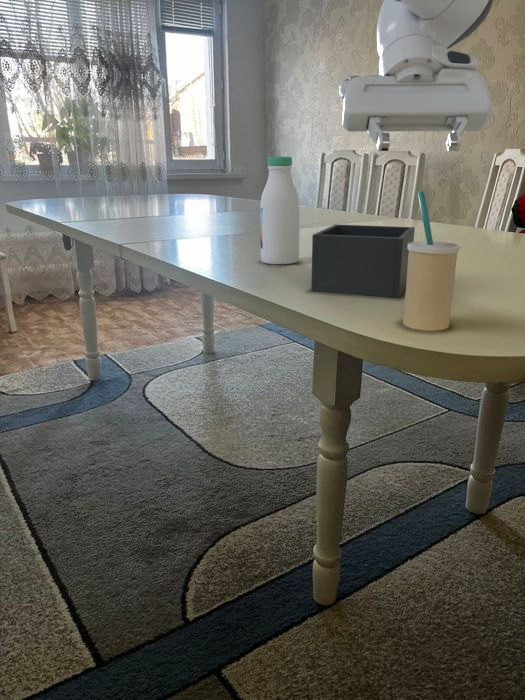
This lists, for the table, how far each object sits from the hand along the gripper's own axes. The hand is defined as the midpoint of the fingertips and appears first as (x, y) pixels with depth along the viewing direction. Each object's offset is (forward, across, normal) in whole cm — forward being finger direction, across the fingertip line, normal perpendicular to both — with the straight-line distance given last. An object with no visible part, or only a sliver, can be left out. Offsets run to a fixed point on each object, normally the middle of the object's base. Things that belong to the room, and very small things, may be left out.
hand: (418, 147), depth 73 cm
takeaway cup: (+24, 0, +6) cm, 24 cm away
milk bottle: (-6, -19, +36) cm, 42 cm away
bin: (+8, -5, +22) cm, 24 cm away
